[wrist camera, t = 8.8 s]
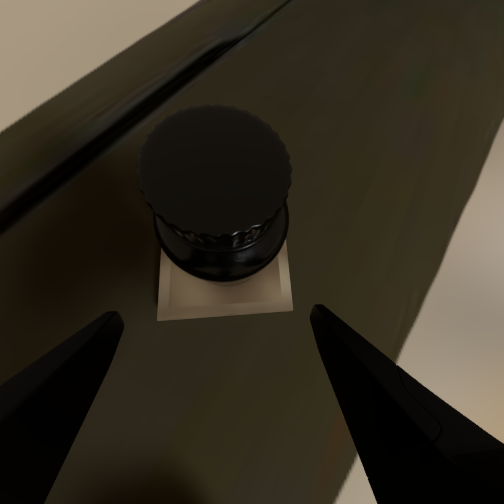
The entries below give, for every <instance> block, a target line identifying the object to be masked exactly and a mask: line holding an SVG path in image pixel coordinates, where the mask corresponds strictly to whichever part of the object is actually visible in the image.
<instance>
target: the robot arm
mask: <svg viewBox="0 0 504 504" xmlns="http://www.w3.org/2000/svg"><path fill="white" fill-rule="evenodd" d="M310 322H311V325H312V329H313V332H314V336H315V340H316V343H317V347H318V350H319V353H320V356H321V359H322V361H323V364H324V366H325V369H326V371H327V374H328V377H329V379H330V382H331V384H332V387H333V390H334V392H335V395H336V397H337V400H338V403H339V405H340V408H341V410H342V413H343V416H344V418H345V421H346V423H347V426H348V428H349V431H350V434H351V436H352V439H353V441H354V444H355V447H356V449H357V452H358V454H359V457H360V460H361V462H362V464H363V467H364V470H365V473H366V475H367V477H368V481H369V483H370V486H371V488H372V491H373V494H374V496H375V499H376V501H377V504H504V444H503V443H502V442H500V441H499V440H497V439H496V438H494V437H493V436H492V435H490V434H489V433H487V432H486V431H484V430H483V429H482V428H480V427H479V426H478V425H476V424H475V423H474V422H472V421H471V420H469V419H468V418H467V417H465V416H464V415H463V414H461V413H460V412H458V411H457V410H456V409H454V408H453V407H451V406H450V405H449V404H447V403H446V402H445V401H443V400H442V399H440V398H439V397H438V396H437V395H435V394H434V393H433V392H431V391H430V390H428V389H427V388H426V387H424V386H423V385H422V384H421V383H419V382H418V381H417V380H416V379H414V378H413V377H412V376H410V375H409V374H408V373H407V372H405V371H404V370H403V369H402V368H400V367H399V366H398V365H396V364H395V363H394V362H393V361H392V360H390V359H389V358H388V357H387V356H386V355H384V354H383V353H382V352H381V351H379V350H378V349H377V348H376V347H374V346H373V345H372V344H371V343H369V342H368V341H367V340H366V339H365V338H363V337H362V336H361V335H360V334H358V333H357V332H356V331H355V330H353V329H352V328H351V327H350V326H348V325H347V324H346V323H345V322H344V321H342V320H341V319H340V318H339V317H337V316H336V315H335V314H334V313H332V312H331V311H330V310H329V309H327V308H326V307H325V306H324V305H322V304H316V305H314V306H313V308H312V311H311V314H310ZM123 330H124V322H123V319H122V317H121V315H120V313H119V312H118V311H109V312H106V313H104V314H103V315H101V316H100V317H99V318H97V319H96V320H94V321H93V322H91V323H90V324H88V325H87V326H86V327H84V328H83V329H81V330H80V331H78V332H77V333H75V334H74V335H72V336H71V337H70V338H68V339H67V340H65V341H64V342H62V343H61V344H59V345H58V346H57V347H55V348H54V349H52V350H51V351H49V352H48V353H46V354H45V355H44V356H42V357H41V358H39V359H38V360H36V361H35V362H33V363H32V364H30V365H29V366H28V367H26V368H25V369H23V370H22V371H20V372H19V373H17V374H16V375H15V376H13V377H12V378H10V379H9V380H7V381H6V382H4V383H3V384H2V385H0V504H44V502H45V500H46V498H47V496H48V494H49V492H50V490H51V488H52V486H53V484H54V482H55V480H56V477H57V475H58V473H59V471H60V469H61V467H62V465H63V463H64V461H65V459H66V457H67V455H68V453H69V450H70V448H71V446H72V444H73V442H74V440H75V438H76V436H77V434H78V432H79V430H80V428H81V425H82V423H83V421H84V419H85V417H86V415H87V413H88V411H89V409H90V407H91V405H92V403H93V400H94V398H95V396H96V394H97V392H98V390H99V388H100V386H101V384H102V382H103V380H104V378H105V376H106V373H107V371H108V369H109V367H110V365H111V362H112V360H113V357H114V354H115V352H116V349H117V346H118V343H119V341H120V338H121V335H122V332H123Z"/></svg>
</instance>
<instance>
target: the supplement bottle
mask: <svg viewBox="0 0 504 504" xmlns="http://www.w3.org/2000/svg"><path fill="white" fill-rule="evenodd" d="M140 152H141V154H140V155H139V157H138V159H137V163H138V166H139V167H138V170H137V173H136V174H137V176H138V178H139V180H140V183H139V188H140V190H141V192H142V193H143V194H144V195H145V200H146V203H147V204H148V206H149V207H150V208H151V209H152V210H153V211H154V215H153V219H154V229H155V233H156V237H157V239H158V242H159V244H160V246H161V248H162V250H163V251H164V253H165V254H166V255H167V257H168V258H169V259H170V260H171V261H172V262H173V263H174V264H175V265H176V266H177V267H179V268H180V269H181V270H183V271H184V272H186V273H188V274H189V275H191V276H193V277H195V278H198V279H200V280H203V281H206V282H208V283H211V284H214V285H217V286H222V287H233V286H238V285H241V284H243V283H245V282H247V281H249V280H250V279H252V278H253V277H254V276H256V275H257V274H258V273H259V272H261V271H262V270H263V269H265V268H266V267H267V266H268V265H269V264H270V263H271V262H272V261H273V260H274V259H275V257H276V256H277V255H278V253H279V252H280V250H281V248H282V246H283V244H284V242H285V240H286V236H287V232H288V227H289V212H288V206H287V202H286V199H287V197H288V189H289V188H290V185H291V177H290V175H291V172H292V168H291V165H290V163H289V160H290V156H289V154H288V153H287V152H286V147H285V144H284V143H283V142H282V141H281V140H280V138H279V135H278V134H277V133H276V132H275V131H273V130H272V129H271V127H270V125H269V124H267V123H265V122H263V121H262V120H261V119H260V118H259V117H258V116H255V115H251V114H250V113H249V112H248V111H246V110H239V109H237V108H236V107H234V106H224V105H221V104H216V105H209V104H204V105H201V106H190V107H189V108H187V109H181V110H178V111H176V112H175V113H174V114H172V115H168V116H166V117H165V118H164V120H163V121H162V122H160V123H158V124H156V125H155V127H154V129H153V131H151V132H150V133H149V134H147V136H146V141H145V142H144V143H143V144H142V146H141V147H140Z"/></svg>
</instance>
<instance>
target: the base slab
mask: <svg viewBox="0 0 504 504" xmlns="http://www.w3.org/2000/svg"><path fill="white" fill-rule="evenodd" d="M282 311H293V305H292V295H291V286H290V276H289V267H288V257H287V248H286V240H285V242H284V244H283V246H282V248H281V250H280V252H279V253H278V255H277V256H276V257H275V259H274V260H273V261H272V262H271V263H270V264H269V265H268V266H267V267H266V268H265V269H263V270H262V271H261V272H259V273H258V274H257V275H256V276H254V277H253V278H252V279H250V280H249V281H247V282H245V283H243V284H241V285H238V286H233V287H222V286H217V285H214V284H211V283H208V282H206V281H203V280H200V279H198V278H195V277H193V276H191V275H189V274H188V273H186V272H184V271H183V270H181V269H180V268H179V267H177V266H176V265H175V264H174V263H173V262H172V261H171V260H170V259H169V258H168V257H167V255H166V254H165V253H164V251H163V250H162V248H161V262H160V280H159V297H158V315H157V321H163V320H176V319H189V318H202V317H216V316H229V315H242V314H256V313H269V312H282Z"/></svg>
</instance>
